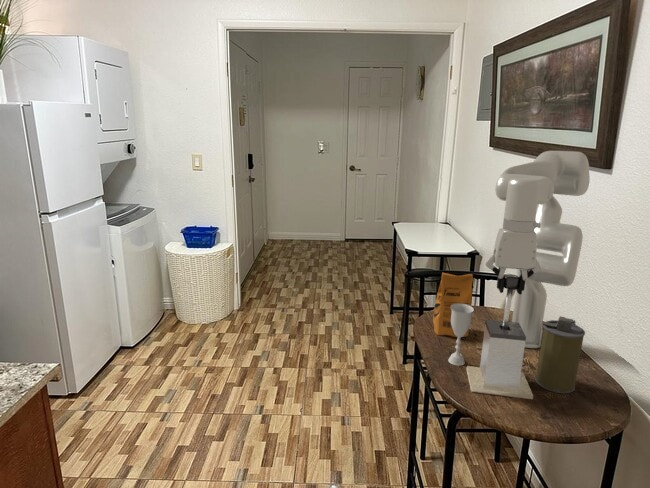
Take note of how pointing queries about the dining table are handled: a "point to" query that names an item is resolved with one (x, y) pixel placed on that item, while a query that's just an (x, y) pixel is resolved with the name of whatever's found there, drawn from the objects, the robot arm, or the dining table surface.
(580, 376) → the dining table surface
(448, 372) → the dining table surface
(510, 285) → the plunger
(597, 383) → the dining table surface
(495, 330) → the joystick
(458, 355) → the chalice
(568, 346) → the canister
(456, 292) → the coffee package
